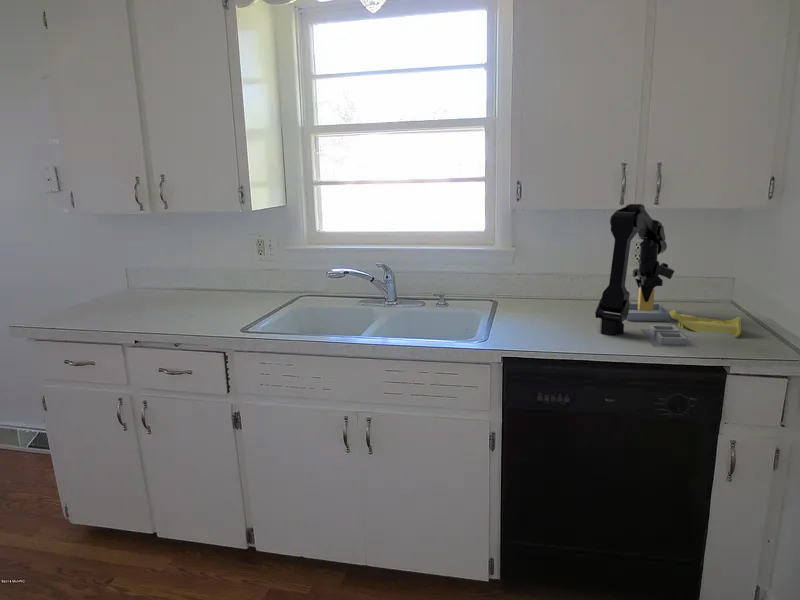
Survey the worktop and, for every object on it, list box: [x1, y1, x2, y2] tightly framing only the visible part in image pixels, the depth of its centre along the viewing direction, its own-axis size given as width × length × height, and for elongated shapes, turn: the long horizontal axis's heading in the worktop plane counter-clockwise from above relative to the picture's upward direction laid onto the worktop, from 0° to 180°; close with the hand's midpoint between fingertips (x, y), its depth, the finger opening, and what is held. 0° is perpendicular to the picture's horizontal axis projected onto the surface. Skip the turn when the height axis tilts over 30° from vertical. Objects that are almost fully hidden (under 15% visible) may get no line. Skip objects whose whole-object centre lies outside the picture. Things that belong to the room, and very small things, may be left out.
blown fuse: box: [637, 287, 655, 311], centre depth 202 cm, size 3×4×9 cm, turn 79°
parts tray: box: [625, 302, 672, 323], centre depth 203 cm, size 14×14×3 cm
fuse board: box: [639, 324, 698, 349], centre depth 174 cm, size 12×18×4 cm, turn 169°
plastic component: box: [669, 309, 742, 338], centre depth 184 cm, size 20×7×10 cm
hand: (645, 300), depth 202 cm, fingers closed on blown fuse, 3 cm apart
